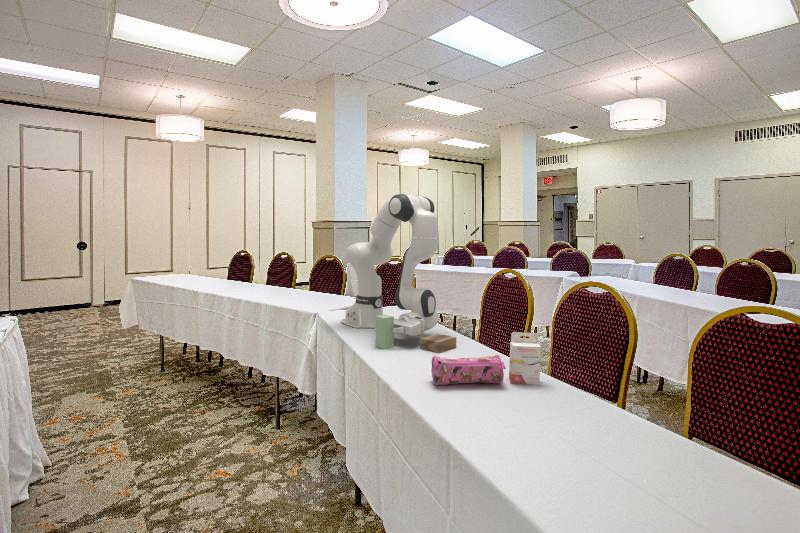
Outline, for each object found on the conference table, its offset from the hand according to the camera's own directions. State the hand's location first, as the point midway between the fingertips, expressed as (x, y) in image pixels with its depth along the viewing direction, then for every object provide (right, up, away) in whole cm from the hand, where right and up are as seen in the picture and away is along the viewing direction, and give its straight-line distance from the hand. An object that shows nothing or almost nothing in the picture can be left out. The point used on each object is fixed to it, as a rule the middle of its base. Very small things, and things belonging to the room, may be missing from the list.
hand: (383, 329), depth 182 cm
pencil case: (+26, -11, -40) cm, 50 cm away
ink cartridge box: (+44, -11, -39) cm, 59 cm away
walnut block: (+21, -7, 0) cm, 22 cm away
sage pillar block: (0, -7, +1) cm, 7 cm away
